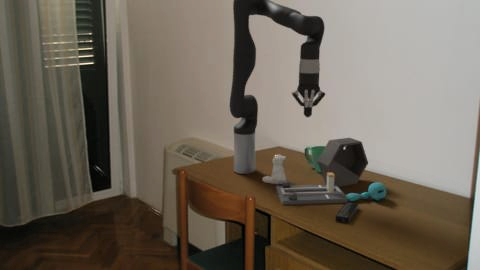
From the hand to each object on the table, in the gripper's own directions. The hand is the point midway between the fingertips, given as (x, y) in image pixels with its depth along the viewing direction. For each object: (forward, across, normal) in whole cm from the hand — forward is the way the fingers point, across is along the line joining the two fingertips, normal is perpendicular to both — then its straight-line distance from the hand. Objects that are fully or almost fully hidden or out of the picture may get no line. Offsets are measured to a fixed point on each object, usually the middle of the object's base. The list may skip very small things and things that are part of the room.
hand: (307, 116), depth 190 cm
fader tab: (+27, -8, +9) cm, 29 cm away
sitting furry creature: (+29, +10, -8) cm, 32 cm away
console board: (+28, 0, +9) cm, 30 cm away
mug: (+29, -10, -23) cm, 38 cm away
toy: (+29, -20, +14) cm, 38 cm away
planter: (+29, -16, -5) cm, 33 cm away
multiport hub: (+29, -9, +28) cm, 41 cm away
